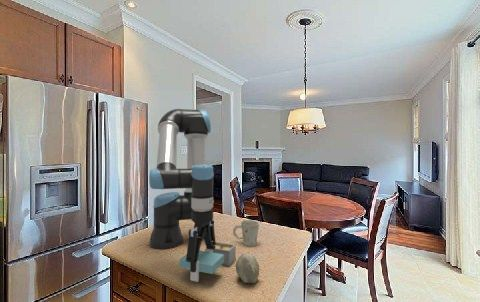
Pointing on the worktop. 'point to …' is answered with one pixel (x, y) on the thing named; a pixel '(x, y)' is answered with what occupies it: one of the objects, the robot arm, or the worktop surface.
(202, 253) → the lid
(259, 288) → the worktop surface
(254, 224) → the mug
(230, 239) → the worktop surface
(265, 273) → the worktop surface
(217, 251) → the box
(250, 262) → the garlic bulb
